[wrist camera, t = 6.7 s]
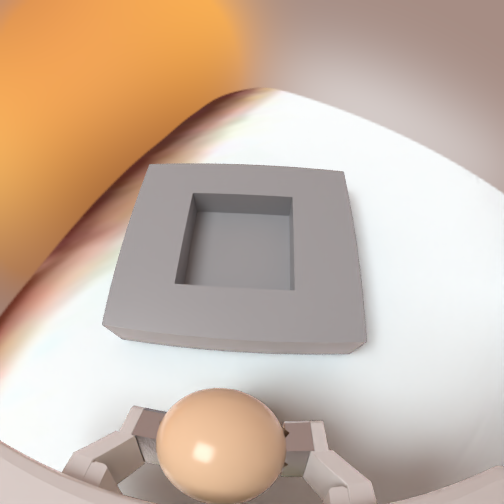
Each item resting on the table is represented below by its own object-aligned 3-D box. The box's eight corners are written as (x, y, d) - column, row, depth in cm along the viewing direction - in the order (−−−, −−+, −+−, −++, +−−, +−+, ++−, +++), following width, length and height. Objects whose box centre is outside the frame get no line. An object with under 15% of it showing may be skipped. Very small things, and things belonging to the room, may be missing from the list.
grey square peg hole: (334, 198, 23) (343, 171, 20) (349, 353, 17) (366, 341, 14) (158, 190, 23) (149, 164, 21) (122, 339, 17) (102, 324, 15)
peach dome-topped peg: (275, 398, 15) (297, 385, 8) (272, 473, 13) (289, 525, 6) (194, 393, 15) (143, 372, 8) (188, 467, 13) (134, 507, 6)
